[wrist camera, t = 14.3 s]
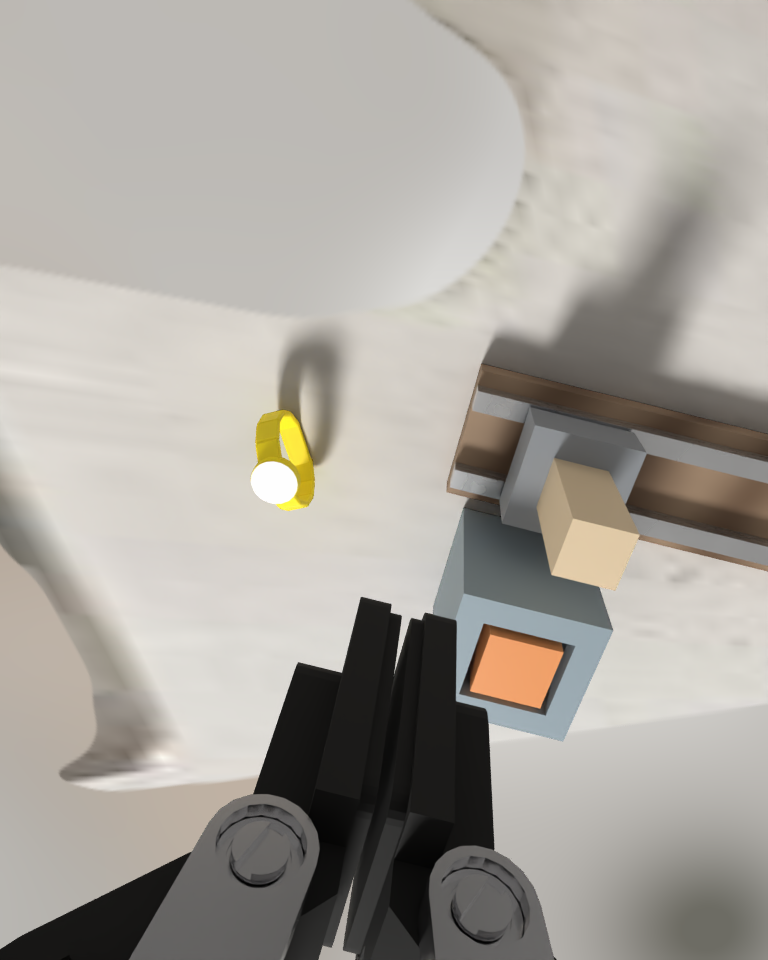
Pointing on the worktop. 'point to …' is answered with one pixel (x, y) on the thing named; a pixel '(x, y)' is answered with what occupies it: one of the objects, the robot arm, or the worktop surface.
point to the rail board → (663, 475)
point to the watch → (282, 463)
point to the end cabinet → (521, 617)
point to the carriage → (575, 494)
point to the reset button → (513, 665)
